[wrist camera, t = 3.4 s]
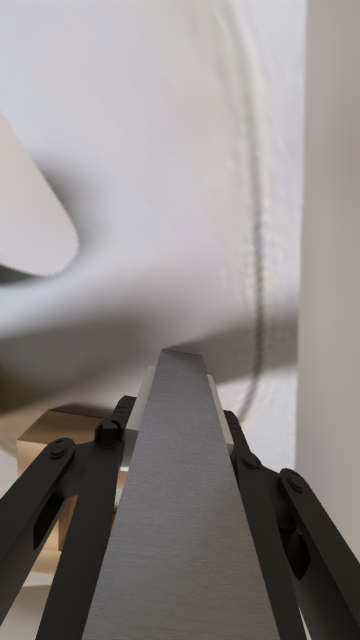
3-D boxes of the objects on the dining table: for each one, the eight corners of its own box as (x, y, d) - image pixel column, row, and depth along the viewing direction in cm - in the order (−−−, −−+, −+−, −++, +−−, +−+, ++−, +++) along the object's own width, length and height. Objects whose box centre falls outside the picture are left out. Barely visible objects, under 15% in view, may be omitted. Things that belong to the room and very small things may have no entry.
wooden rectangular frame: (47, 410, 18) (16, 440, 15) (176, 429, 19) (175, 462, 15) (47, 526, 22) (23, 570, 19) (153, 539, 23) (148, 585, 19)
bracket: (161, 349, 17) (75, 658, 3) (201, 356, 17) (291, 680, 3) (151, 409, 18) (66, 792, 5) (188, 415, 18) (211, 802, 5)
